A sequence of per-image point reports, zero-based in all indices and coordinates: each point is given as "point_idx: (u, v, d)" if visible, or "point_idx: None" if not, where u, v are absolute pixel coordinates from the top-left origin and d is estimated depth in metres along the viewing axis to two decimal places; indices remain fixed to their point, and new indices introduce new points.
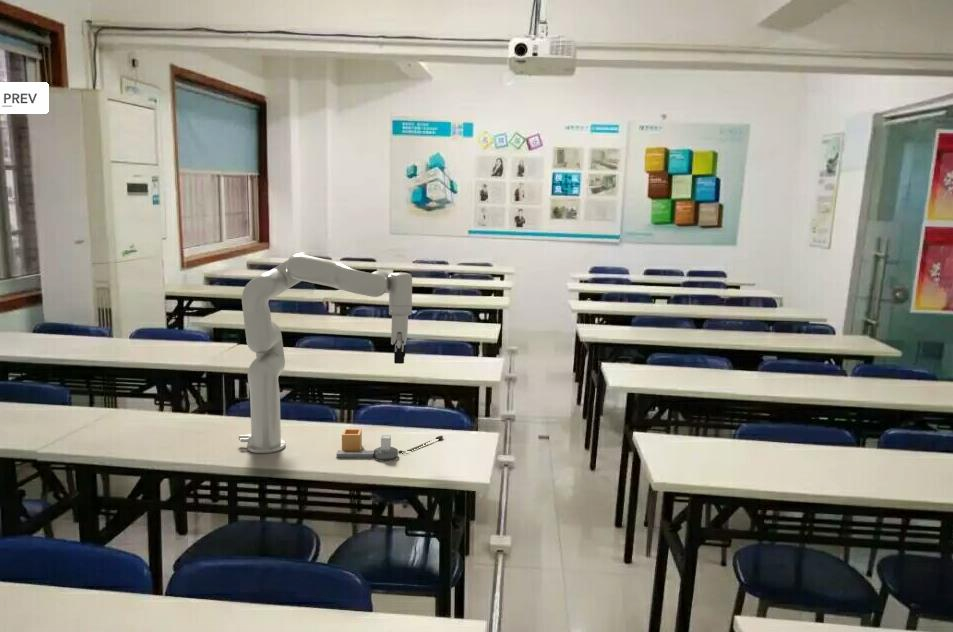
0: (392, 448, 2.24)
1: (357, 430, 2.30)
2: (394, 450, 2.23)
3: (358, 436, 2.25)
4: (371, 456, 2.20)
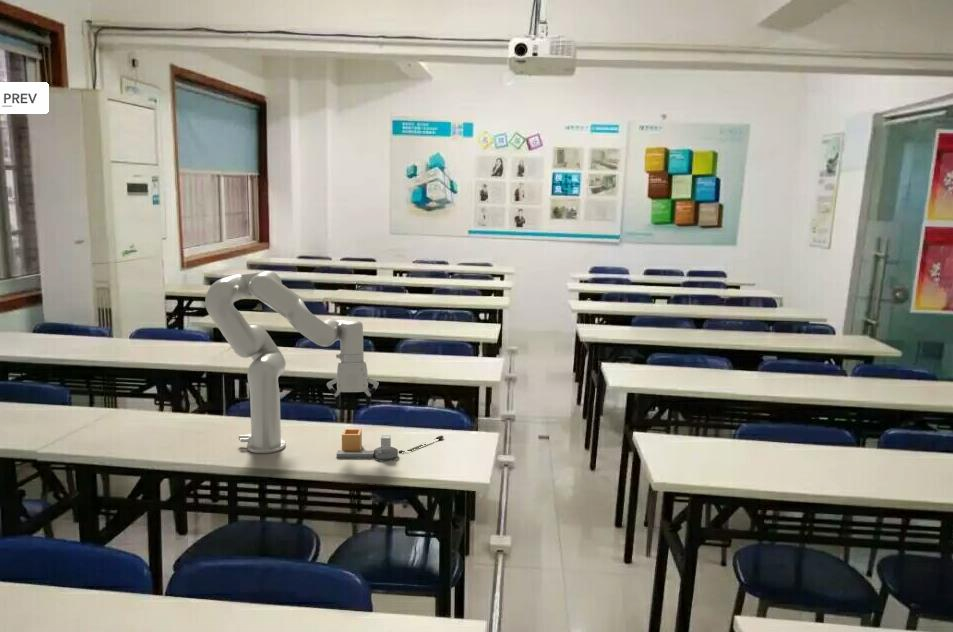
0: (392, 448, 2.24)
1: (357, 430, 2.30)
2: (394, 450, 2.23)
3: (358, 436, 2.25)
4: (371, 456, 2.20)
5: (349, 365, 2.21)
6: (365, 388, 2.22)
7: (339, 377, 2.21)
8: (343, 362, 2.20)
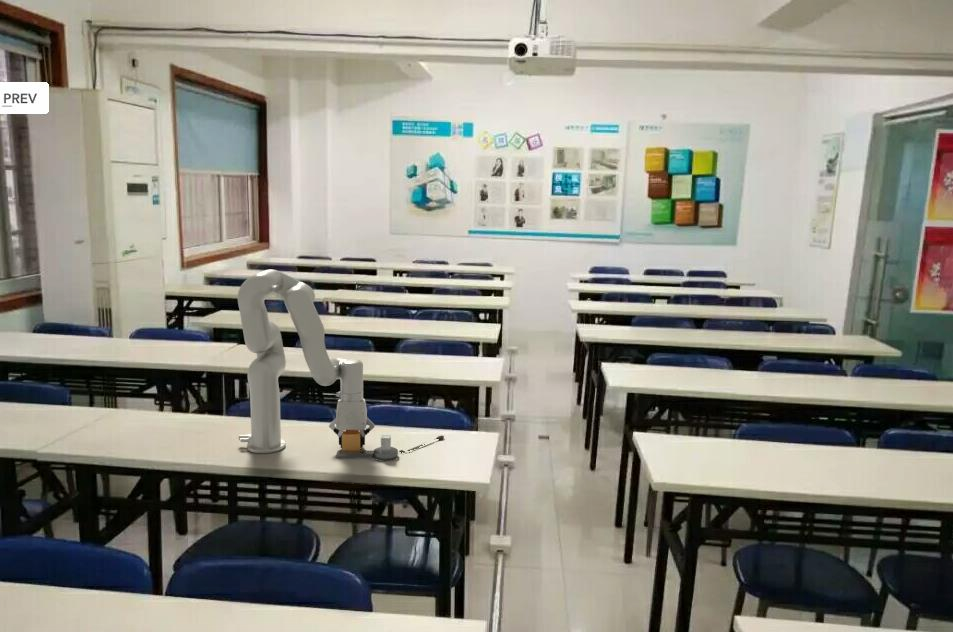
0: (392, 448, 2.24)
1: (357, 430, 2.30)
2: (394, 450, 2.23)
3: (358, 436, 2.25)
4: (371, 456, 2.20)
5: (348, 403, 2.23)
6: (364, 427, 2.25)
7: (338, 415, 2.23)
8: (343, 401, 2.23)
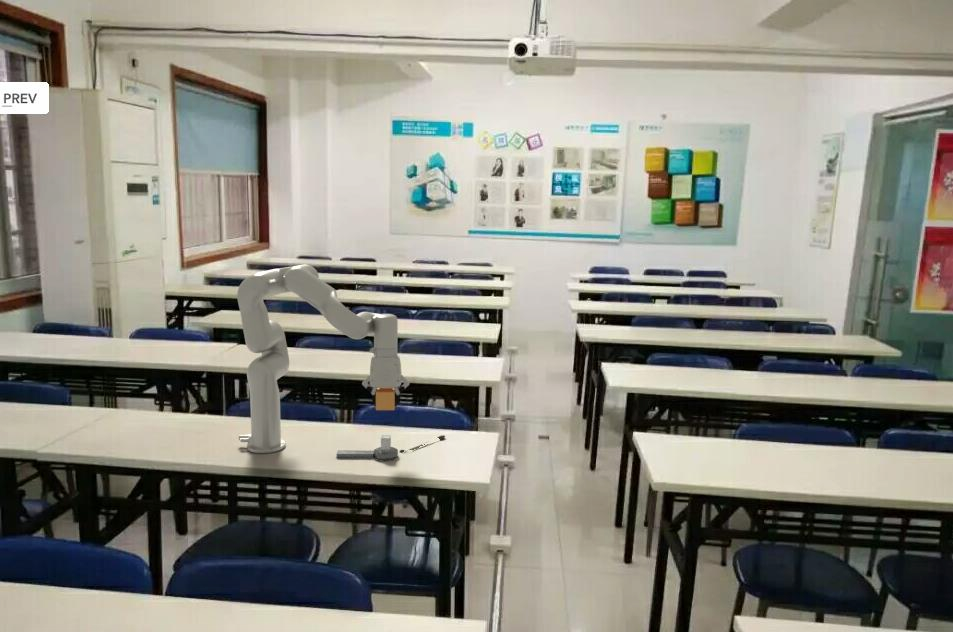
0: (392, 448, 2.24)
1: (391, 388, 2.21)
2: (394, 450, 2.23)
3: (393, 394, 2.16)
4: (371, 456, 2.20)
5: (383, 359, 2.14)
6: (399, 384, 2.16)
7: (372, 372, 2.15)
8: (377, 357, 2.14)
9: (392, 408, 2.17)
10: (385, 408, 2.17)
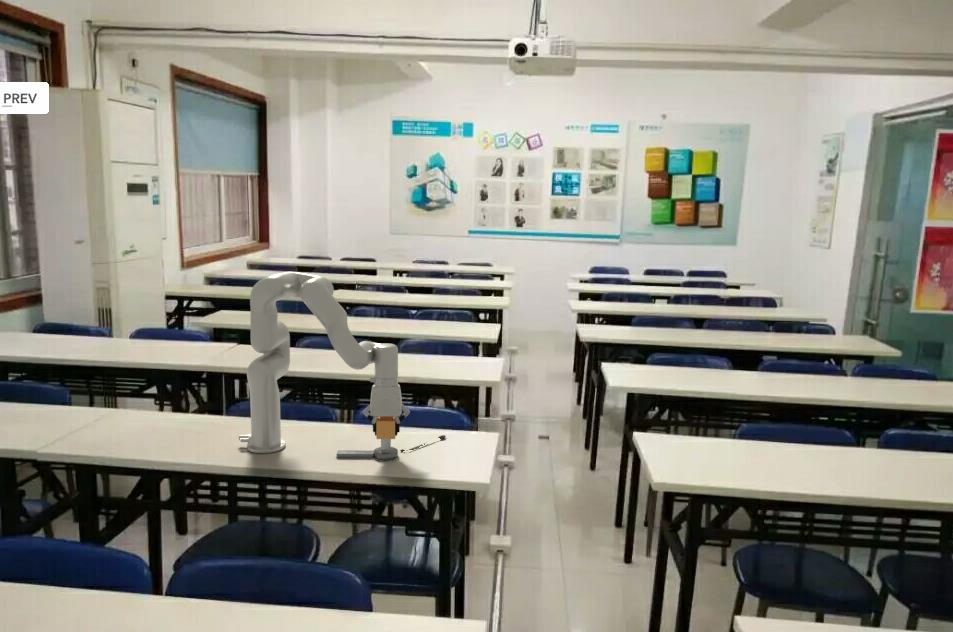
0: (392, 448, 2.24)
1: (391, 417, 2.22)
2: (394, 450, 2.23)
3: (393, 423, 2.17)
4: (371, 456, 2.20)
5: (383, 389, 2.16)
6: (399, 413, 2.17)
7: (373, 401, 2.16)
8: (377, 386, 2.15)
9: (392, 437, 2.18)
10: (386, 437, 2.18)
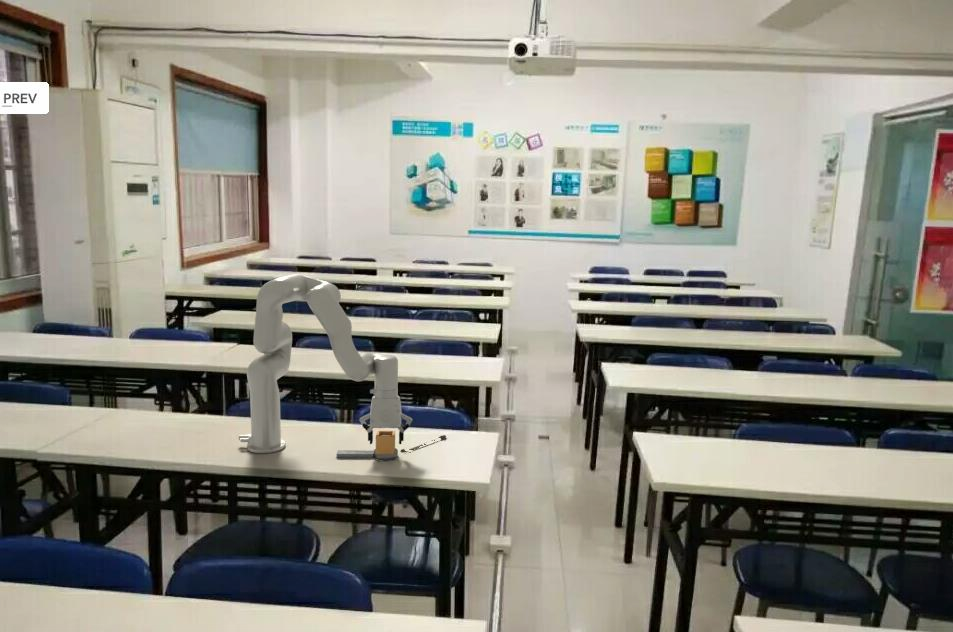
0: None
1: (391, 432, 2.23)
2: None
3: (392, 438, 2.18)
4: (371, 456, 2.20)
5: (383, 400, 2.16)
6: (399, 424, 2.18)
7: (373, 413, 2.17)
8: (377, 398, 2.16)
9: (392, 452, 2.19)
10: (385, 452, 2.19)
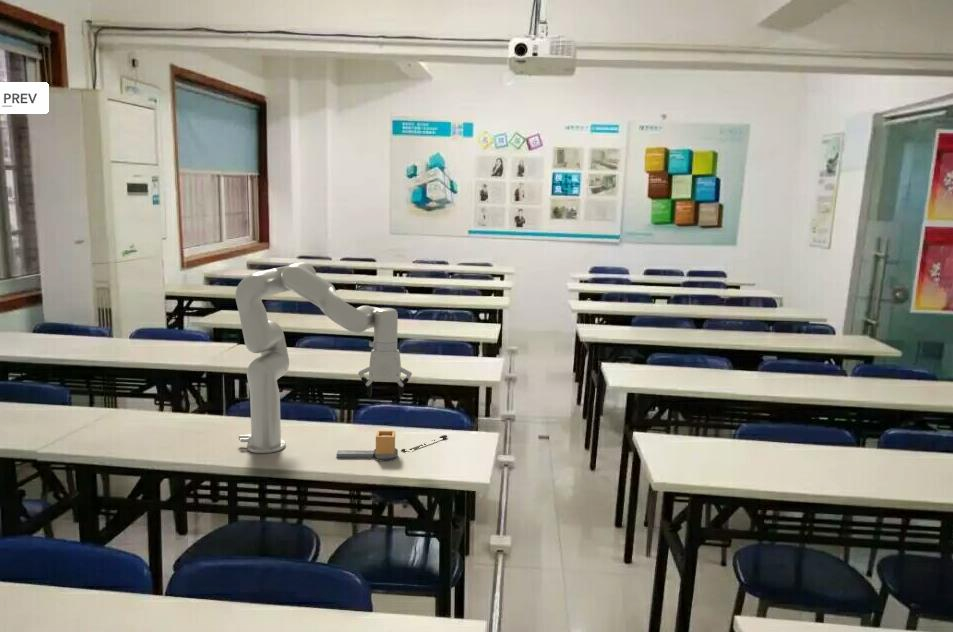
0: None
1: (391, 432, 2.23)
2: None
3: (392, 438, 2.18)
4: (371, 456, 2.20)
5: (382, 353, 2.14)
6: (398, 378, 2.16)
7: (372, 366, 2.15)
8: (376, 350, 2.14)
9: (392, 452, 2.19)
10: (385, 452, 2.19)
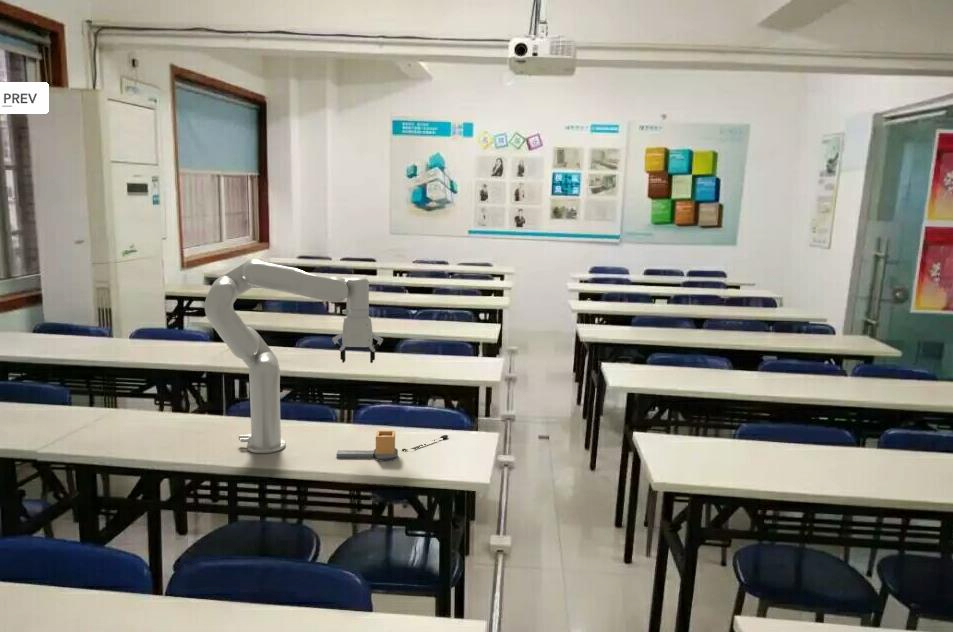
0: None
1: (391, 432, 2.23)
2: None
3: (392, 438, 2.18)
4: (371, 456, 2.20)
5: (354, 320, 2.27)
6: (370, 343, 2.29)
7: (345, 332, 2.28)
8: (349, 317, 2.27)
9: (392, 452, 2.19)
10: (385, 452, 2.19)
